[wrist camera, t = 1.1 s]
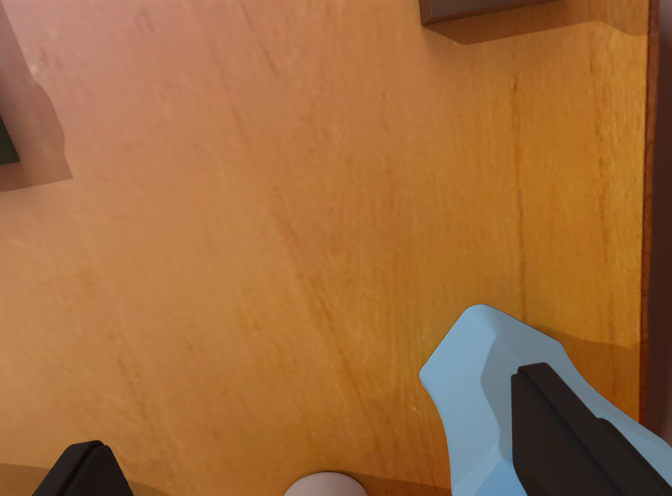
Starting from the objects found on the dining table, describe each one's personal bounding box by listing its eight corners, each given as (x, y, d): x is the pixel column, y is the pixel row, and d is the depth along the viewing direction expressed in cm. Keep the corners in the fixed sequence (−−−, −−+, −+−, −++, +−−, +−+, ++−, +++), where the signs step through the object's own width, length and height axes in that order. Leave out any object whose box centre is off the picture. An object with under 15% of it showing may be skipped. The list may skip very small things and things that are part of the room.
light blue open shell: (473, 296, 27) (848, 736, 8) (560, 342, 28) (1040, 796, 10) (411, 381, 29) (593, 888, 10) (495, 419, 31) (785, 915, 12)
